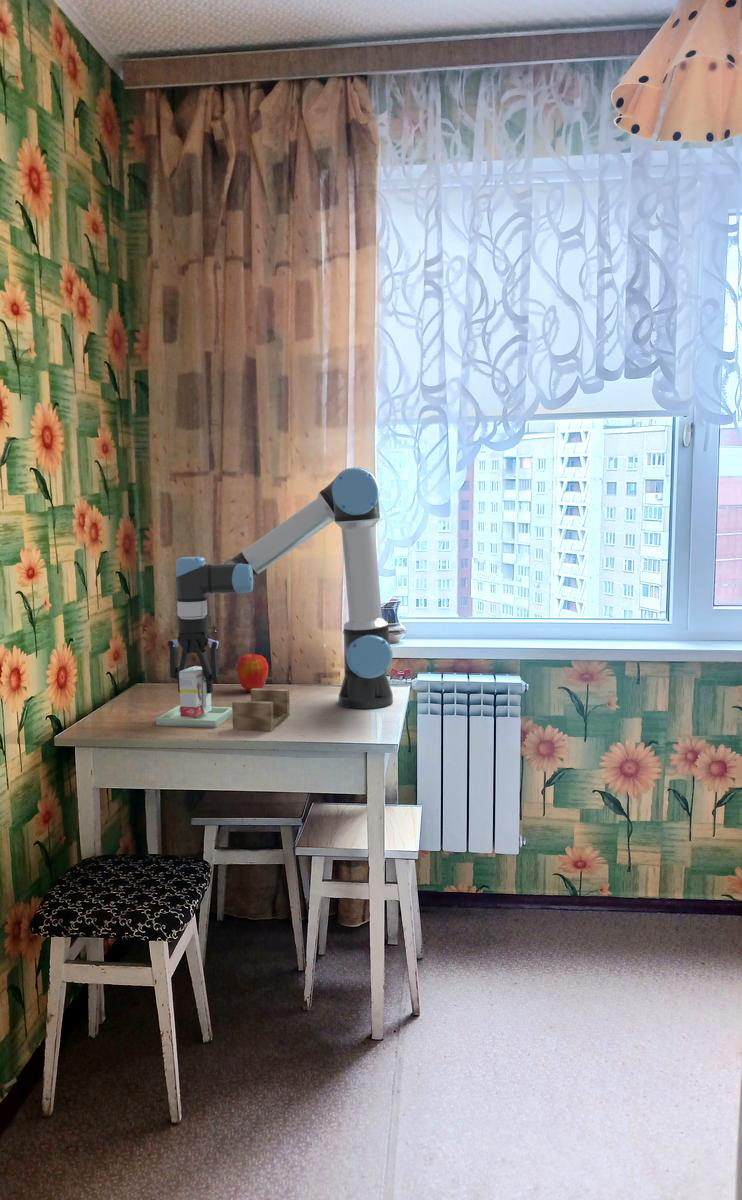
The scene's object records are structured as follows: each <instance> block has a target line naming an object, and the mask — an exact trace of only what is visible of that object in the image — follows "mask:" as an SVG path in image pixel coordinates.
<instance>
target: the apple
mask: <svg viewBox="0 0 742 1200" xmlns="http://www.w3.org/2000/svg"><path fill="white" fill-rule="evenodd" d="M236 673H237V677H238V680H239V683H240V686H241V687H242V688H243V689H244V690H245V691H246V692H250V693H251V689H253V688H259V689H264V687H265V684H266V682H267V678H268V675H269V664H268V661H267V659H266V658H265V657H264V656H263V655H260V654H256V653H255V654H254V653H253V652H251V653H247V654H244V655H241V657H240V658H239V659H238V662H237V665H236Z"/></svg>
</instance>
